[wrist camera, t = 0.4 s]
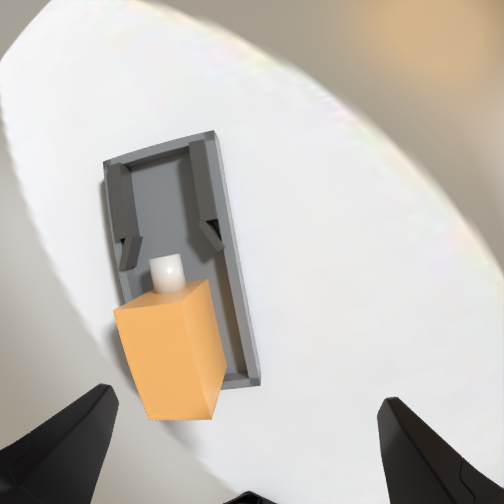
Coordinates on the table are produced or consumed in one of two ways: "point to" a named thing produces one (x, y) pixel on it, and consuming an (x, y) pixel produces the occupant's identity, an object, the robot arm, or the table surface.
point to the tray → (183, 235)
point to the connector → (173, 344)
